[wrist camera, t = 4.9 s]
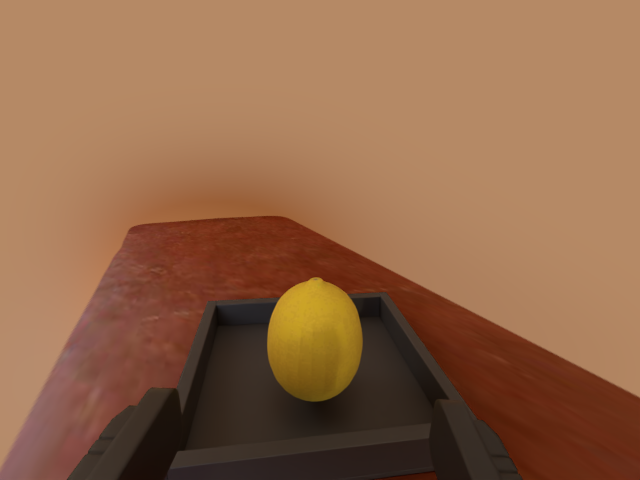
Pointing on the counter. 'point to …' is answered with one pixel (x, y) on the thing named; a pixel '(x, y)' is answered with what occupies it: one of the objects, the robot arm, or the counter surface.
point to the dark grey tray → (305, 402)
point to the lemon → (314, 340)
